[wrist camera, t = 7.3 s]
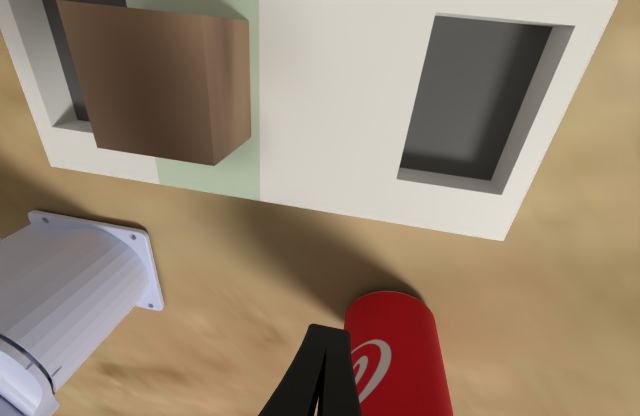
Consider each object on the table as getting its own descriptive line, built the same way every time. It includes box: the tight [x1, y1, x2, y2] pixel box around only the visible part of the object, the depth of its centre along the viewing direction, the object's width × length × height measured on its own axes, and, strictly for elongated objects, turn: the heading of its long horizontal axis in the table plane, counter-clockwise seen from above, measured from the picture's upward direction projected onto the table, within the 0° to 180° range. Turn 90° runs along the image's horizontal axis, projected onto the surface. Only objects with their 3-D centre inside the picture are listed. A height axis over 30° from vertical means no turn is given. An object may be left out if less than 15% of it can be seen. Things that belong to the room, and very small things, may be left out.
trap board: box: [0, 0, 618, 241], centre depth 15 cm, size 26×12×2 cm, turn 84°
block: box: [56, 0, 251, 166], centre depth 13 cm, size 5×5×4 cm
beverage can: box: [344, 291, 453, 416], centre depth 17 cm, size 6×6×12 cm
